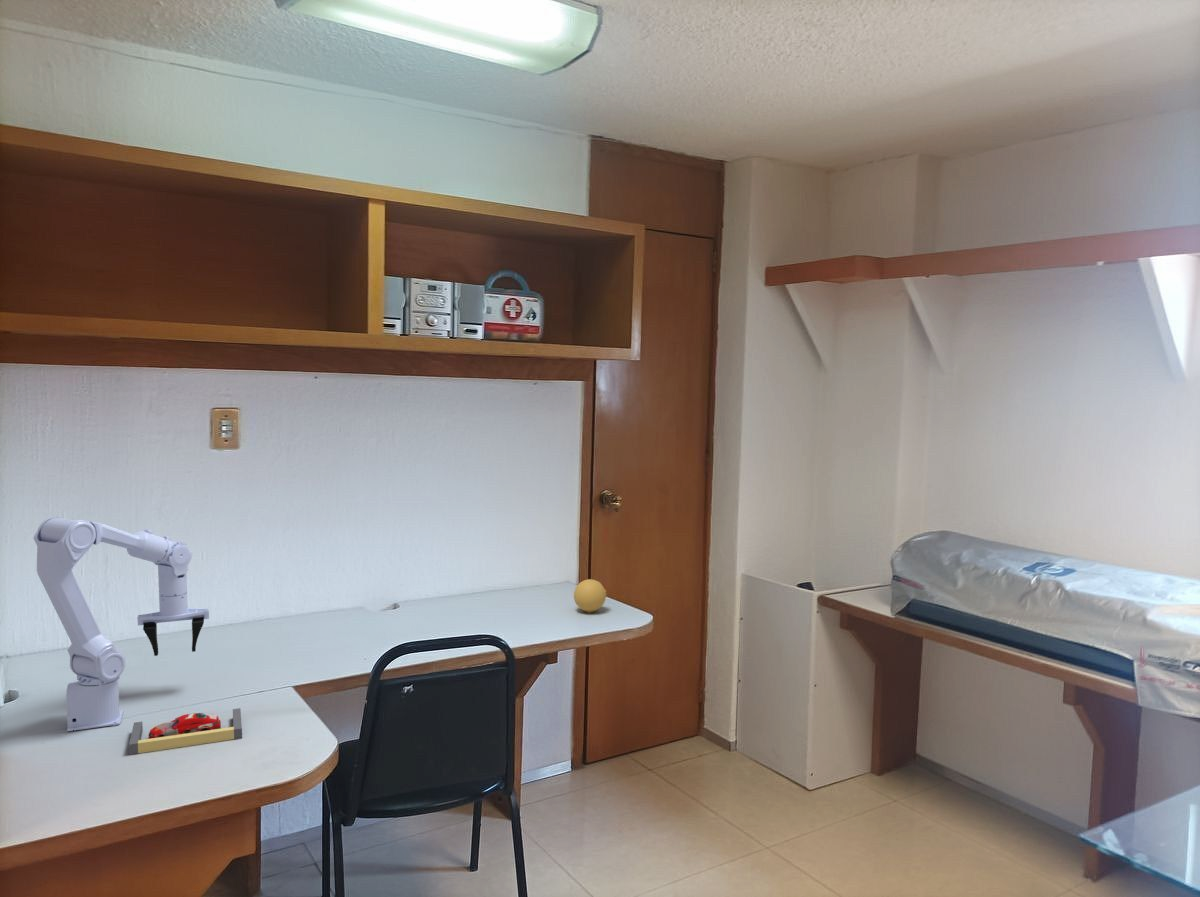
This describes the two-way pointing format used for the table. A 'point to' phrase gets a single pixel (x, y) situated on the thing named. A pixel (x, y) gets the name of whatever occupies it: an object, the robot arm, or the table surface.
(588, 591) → the stress ball
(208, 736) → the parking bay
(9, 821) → the table surface
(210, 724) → the race car
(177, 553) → the robot arm
